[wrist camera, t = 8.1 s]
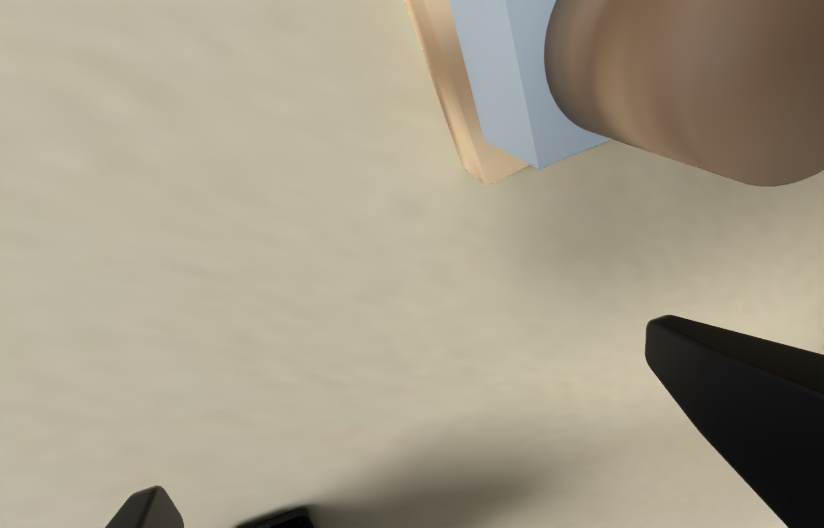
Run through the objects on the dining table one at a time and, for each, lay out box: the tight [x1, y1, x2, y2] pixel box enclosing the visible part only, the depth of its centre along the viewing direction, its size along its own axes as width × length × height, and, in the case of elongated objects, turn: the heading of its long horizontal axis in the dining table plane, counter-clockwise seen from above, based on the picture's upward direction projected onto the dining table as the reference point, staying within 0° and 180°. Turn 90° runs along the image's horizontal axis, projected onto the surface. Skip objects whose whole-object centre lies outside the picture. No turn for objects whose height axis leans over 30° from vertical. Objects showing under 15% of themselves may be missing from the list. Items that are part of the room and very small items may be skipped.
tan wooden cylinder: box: [544, 0, 824, 186], centre depth 10 cm, size 5×5×5 cm
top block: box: [449, 0, 611, 169], centre depth 14 cm, size 5×5×4 cm
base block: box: [404, 0, 530, 186], centre depth 17 cm, size 7×7×3 cm
